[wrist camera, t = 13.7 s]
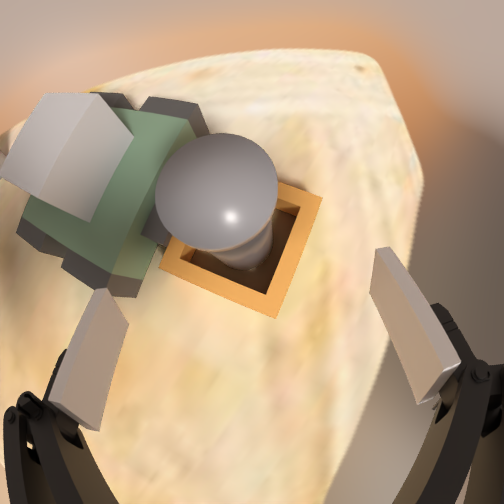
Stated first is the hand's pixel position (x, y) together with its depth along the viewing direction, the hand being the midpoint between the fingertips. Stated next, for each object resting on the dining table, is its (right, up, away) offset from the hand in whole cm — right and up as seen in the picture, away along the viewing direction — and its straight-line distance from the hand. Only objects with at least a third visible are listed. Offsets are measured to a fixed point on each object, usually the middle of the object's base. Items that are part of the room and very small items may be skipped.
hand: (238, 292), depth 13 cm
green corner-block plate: (-9, +6, +15) cm, 18 cm away
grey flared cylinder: (0, +3, +14) cm, 14 cm away
